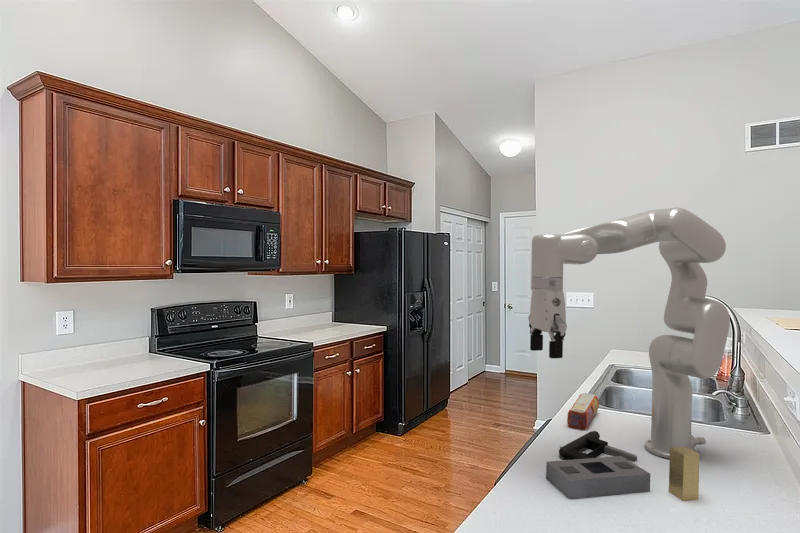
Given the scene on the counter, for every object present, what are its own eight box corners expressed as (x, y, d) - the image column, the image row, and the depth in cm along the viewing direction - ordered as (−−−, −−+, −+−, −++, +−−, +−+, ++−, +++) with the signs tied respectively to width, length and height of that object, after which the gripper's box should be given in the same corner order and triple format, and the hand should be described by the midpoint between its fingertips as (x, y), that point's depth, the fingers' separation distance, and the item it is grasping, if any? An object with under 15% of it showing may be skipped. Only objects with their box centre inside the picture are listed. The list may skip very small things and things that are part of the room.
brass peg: (683, 490, 109) (685, 446, 109) (698, 499, 106) (699, 453, 105) (668, 492, 109) (669, 447, 108) (682, 500, 105) (683, 454, 104)
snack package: (587, 432, 146) (588, 410, 146) (565, 428, 150) (565, 406, 150) (599, 413, 165) (599, 394, 165) (578, 410, 168) (579, 391, 168)
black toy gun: (645, 446, 130) (587, 427, 141) (615, 468, 116) (553, 445, 127) (644, 458, 130) (586, 438, 141) (613, 481, 116) (552, 457, 127)
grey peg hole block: (620, 472, 118) (621, 455, 118) (649, 491, 109) (650, 473, 109) (546, 478, 114) (546, 461, 114) (569, 499, 105) (569, 480, 104)
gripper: (580, 286, 111) (579, 361, 112) (544, 282, 128) (543, 347, 128) (550, 286, 110) (548, 361, 110) (517, 282, 127) (516, 348, 127)
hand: (545, 354), depth 119 cm, fingers open, 9 cm apart
